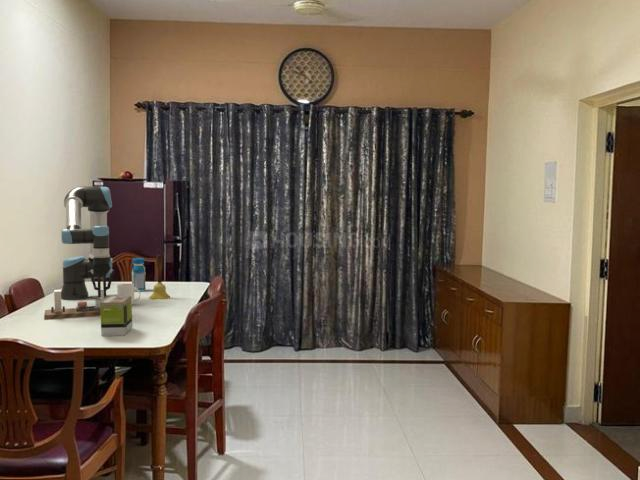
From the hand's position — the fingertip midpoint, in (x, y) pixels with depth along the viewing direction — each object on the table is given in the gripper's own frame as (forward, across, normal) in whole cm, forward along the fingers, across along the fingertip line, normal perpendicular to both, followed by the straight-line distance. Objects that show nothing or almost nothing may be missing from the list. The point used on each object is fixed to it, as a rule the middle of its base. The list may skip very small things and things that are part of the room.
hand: (102, 303), depth 300 cm
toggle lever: (+2, -20, 0) cm, 20 cm away
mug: (+5, +15, +20) cm, 25 cm away
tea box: (+5, +3, -47) cm, 47 cm away
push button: (+1, -9, 0) cm, 9 cm away
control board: (+5, -8, 0) cm, 10 cm away
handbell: (+5, +33, +35) cm, 49 cm away
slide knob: (+3, -2, 0) cm, 3 cm away
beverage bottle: (+5, +25, +66) cm, 71 cm away
